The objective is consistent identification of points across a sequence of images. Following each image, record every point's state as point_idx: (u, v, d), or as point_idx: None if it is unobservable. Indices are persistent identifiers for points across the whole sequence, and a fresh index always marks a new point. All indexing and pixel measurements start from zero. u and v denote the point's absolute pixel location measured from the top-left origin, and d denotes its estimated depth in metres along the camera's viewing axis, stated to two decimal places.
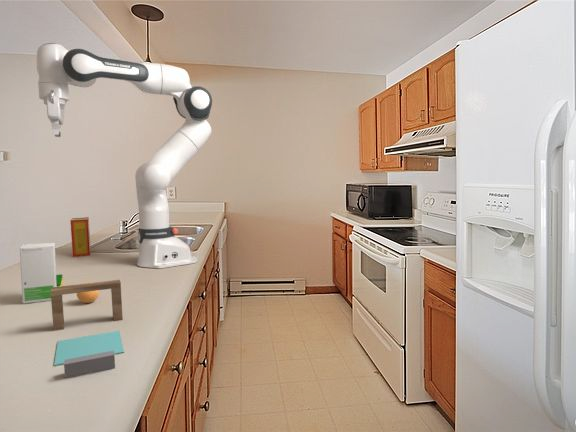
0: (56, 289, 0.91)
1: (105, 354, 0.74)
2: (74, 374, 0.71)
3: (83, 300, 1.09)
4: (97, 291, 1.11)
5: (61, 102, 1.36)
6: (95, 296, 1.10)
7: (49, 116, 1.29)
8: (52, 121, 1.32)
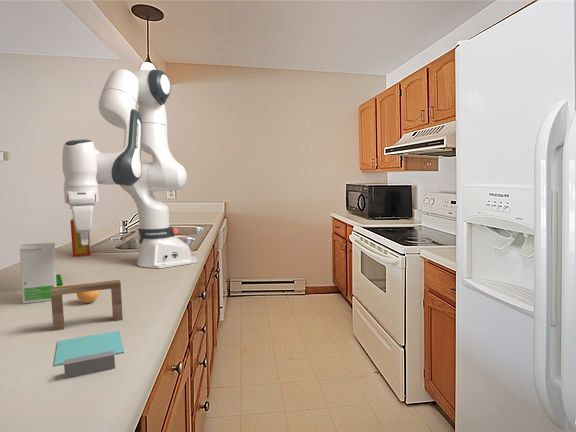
0: (56, 289, 0.91)
1: (105, 354, 0.74)
2: (74, 374, 0.71)
3: (83, 300, 1.09)
4: (97, 291, 1.11)
5: None
6: (95, 296, 1.10)
7: None
8: None
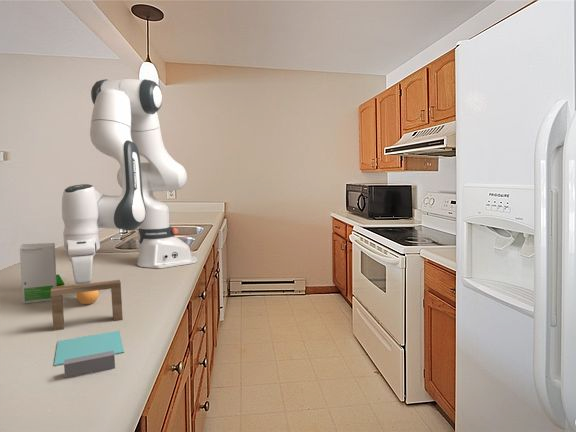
0: (56, 289, 0.91)
1: (105, 354, 0.74)
2: (74, 374, 0.71)
3: (83, 303, 1.08)
4: (97, 293, 1.09)
5: None
6: (95, 299, 1.09)
7: None
8: None
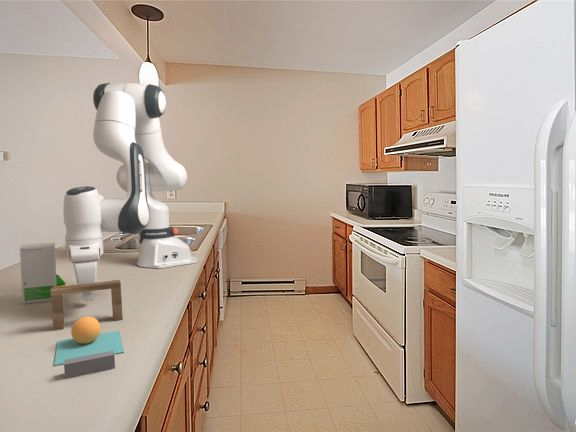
0: (56, 289, 0.91)
1: (105, 354, 0.74)
2: (74, 374, 0.71)
3: (79, 319, 0.83)
4: None
5: None
6: (95, 319, 0.85)
7: None
8: None
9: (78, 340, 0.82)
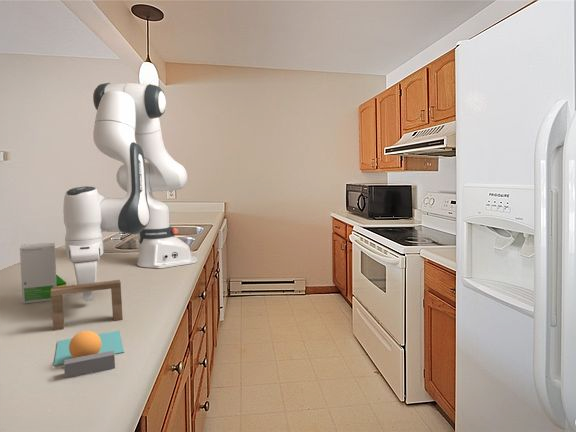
0: (56, 289, 0.91)
1: (105, 354, 0.74)
2: (74, 374, 0.71)
3: None
4: (99, 349, 0.77)
5: None
6: None
7: None
8: None
9: None
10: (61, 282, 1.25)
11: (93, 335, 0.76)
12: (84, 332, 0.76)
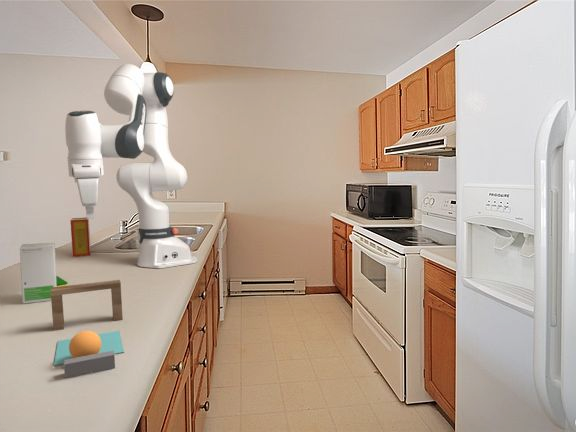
0: (56, 289, 0.91)
1: (105, 354, 0.74)
2: (74, 374, 0.71)
3: None
4: (99, 349, 0.77)
5: None
6: None
7: None
8: None
9: None
10: (62, 282, 1.25)
11: (93, 335, 0.76)
12: (84, 332, 0.76)
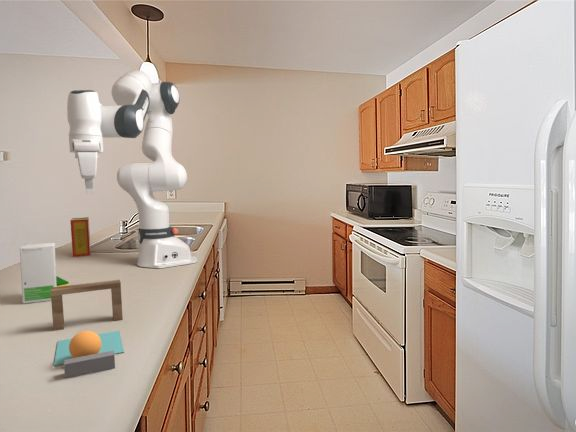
0: (56, 289, 0.91)
1: (105, 354, 0.74)
2: (74, 374, 0.71)
3: None
4: (99, 349, 0.77)
5: None
6: None
7: None
8: None
9: None
10: (63, 281, 1.25)
11: (93, 335, 0.76)
12: (84, 332, 0.76)
